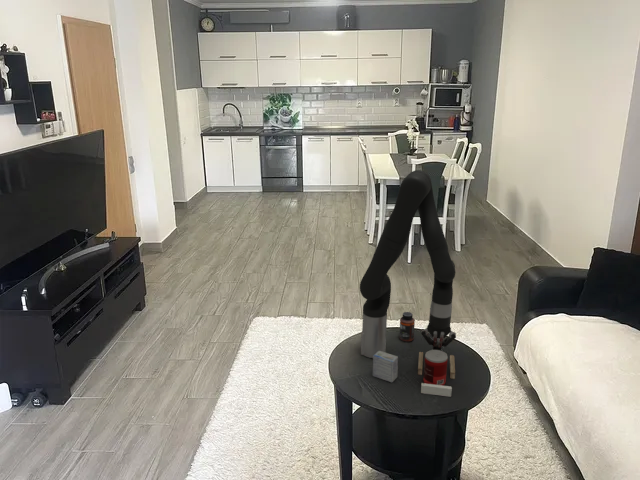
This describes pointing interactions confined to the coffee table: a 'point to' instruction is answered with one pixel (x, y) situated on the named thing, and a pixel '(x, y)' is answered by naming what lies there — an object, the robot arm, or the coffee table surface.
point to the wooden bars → (452, 365)
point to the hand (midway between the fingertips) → (436, 354)
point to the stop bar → (436, 389)
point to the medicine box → (385, 366)
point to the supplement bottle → (407, 327)
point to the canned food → (435, 367)
